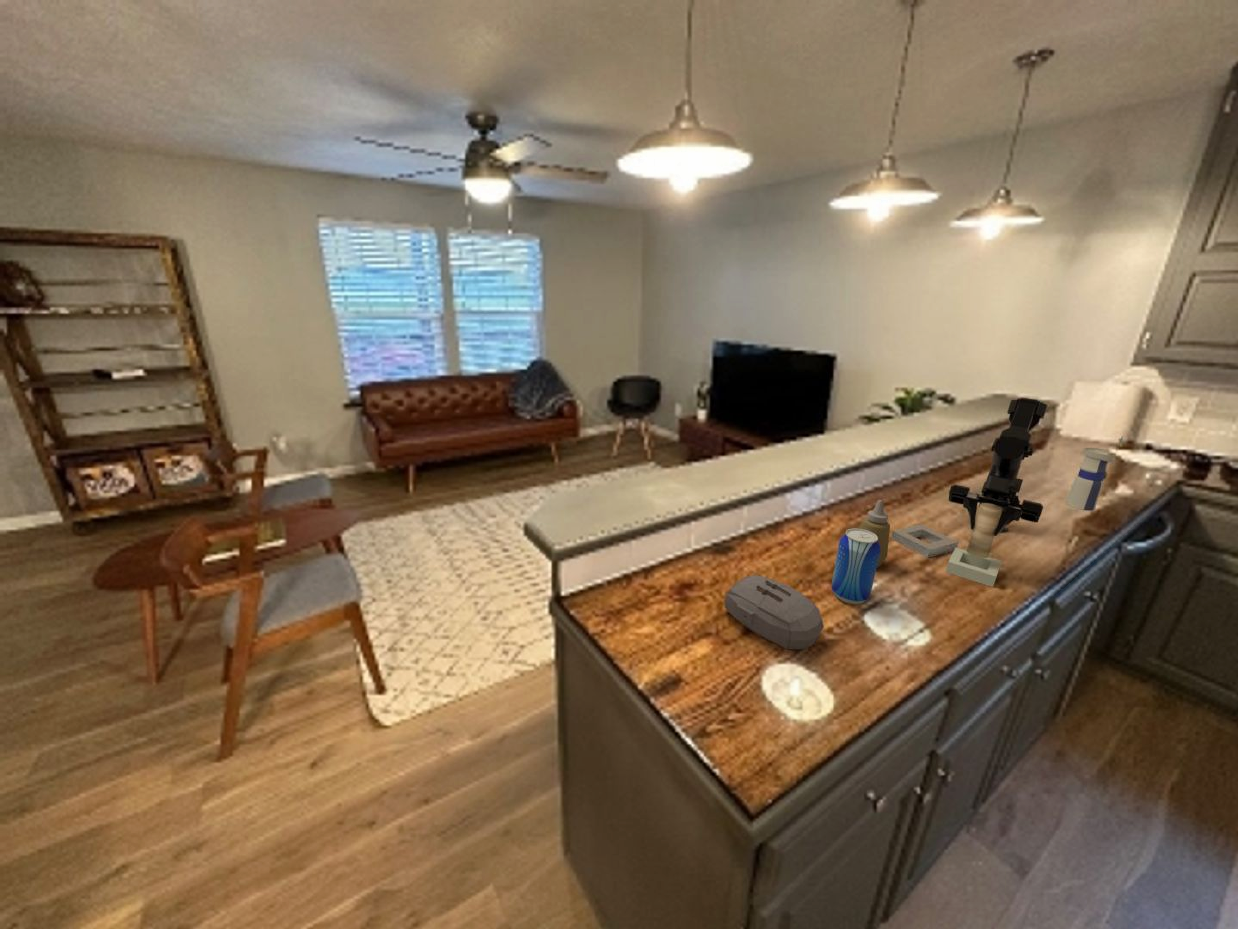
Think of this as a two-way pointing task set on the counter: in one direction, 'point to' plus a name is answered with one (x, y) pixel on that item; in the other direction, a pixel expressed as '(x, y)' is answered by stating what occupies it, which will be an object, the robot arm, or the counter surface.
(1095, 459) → the water bottle
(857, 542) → the beer can
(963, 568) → the collar
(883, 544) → the squeeze bottle
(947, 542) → the socket block
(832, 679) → the counter surface
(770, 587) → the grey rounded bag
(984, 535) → the tan rounded peg
